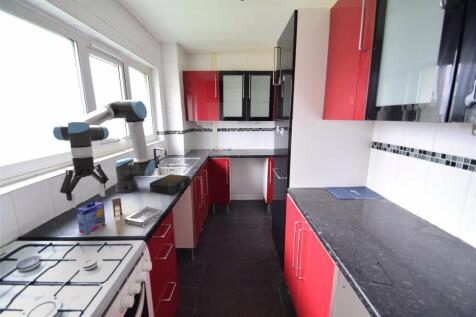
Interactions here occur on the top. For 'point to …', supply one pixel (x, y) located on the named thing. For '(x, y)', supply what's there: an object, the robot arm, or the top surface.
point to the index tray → (143, 216)
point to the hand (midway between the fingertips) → (88, 201)
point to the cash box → (170, 184)
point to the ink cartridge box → (91, 217)
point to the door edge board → (117, 213)
